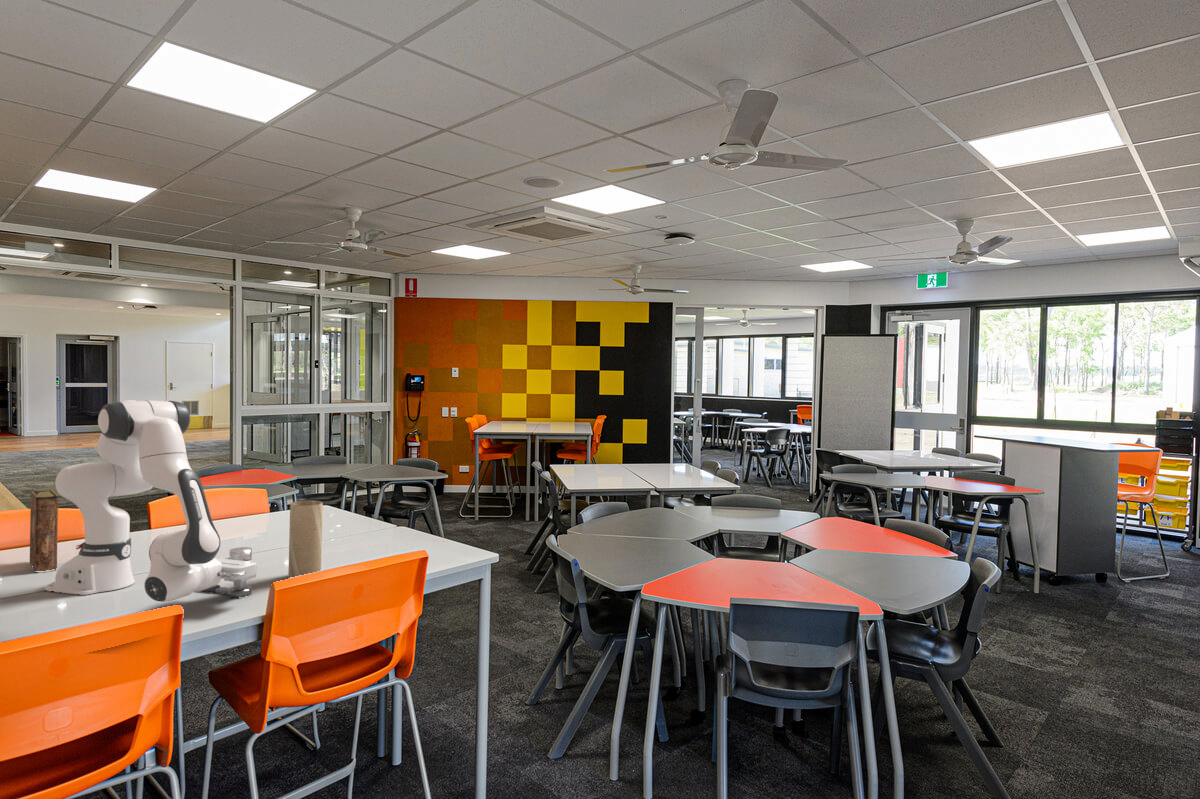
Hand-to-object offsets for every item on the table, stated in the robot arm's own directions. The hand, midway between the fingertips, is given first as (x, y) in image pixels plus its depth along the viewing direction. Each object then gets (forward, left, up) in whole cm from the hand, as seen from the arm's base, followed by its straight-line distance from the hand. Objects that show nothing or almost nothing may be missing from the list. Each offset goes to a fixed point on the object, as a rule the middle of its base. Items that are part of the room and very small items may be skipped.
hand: (243, 560), depth 196 cm
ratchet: (-7, +1, -10) cm, 12 cm away
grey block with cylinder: (0, -1, -5) cm, 5 cm away
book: (-79, +22, -11) cm, 82 cm away
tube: (+11, +19, -11) cm, 24 cm away
